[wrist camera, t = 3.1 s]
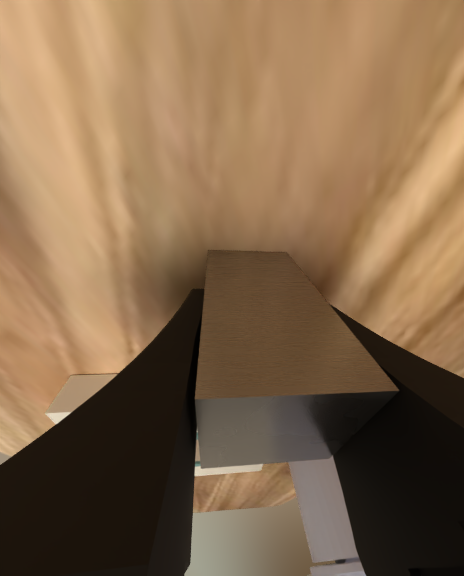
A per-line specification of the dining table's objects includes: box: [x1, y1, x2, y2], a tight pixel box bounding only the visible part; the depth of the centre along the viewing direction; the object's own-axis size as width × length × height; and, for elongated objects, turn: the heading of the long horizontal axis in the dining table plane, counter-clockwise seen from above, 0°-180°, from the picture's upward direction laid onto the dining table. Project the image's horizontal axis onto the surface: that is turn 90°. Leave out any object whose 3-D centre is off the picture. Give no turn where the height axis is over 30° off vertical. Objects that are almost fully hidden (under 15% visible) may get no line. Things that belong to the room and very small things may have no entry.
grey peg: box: [195, 250, 399, 469], centre depth 8 cm, size 4×4×7 cm
